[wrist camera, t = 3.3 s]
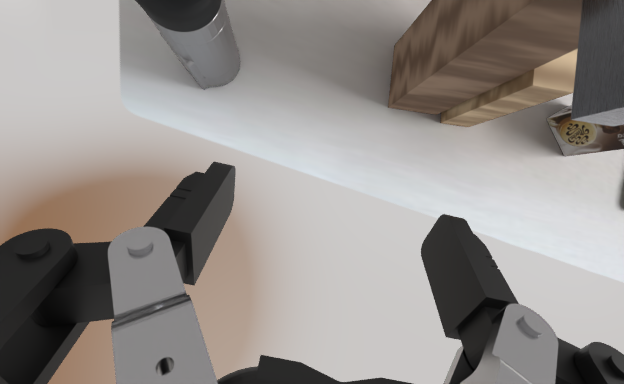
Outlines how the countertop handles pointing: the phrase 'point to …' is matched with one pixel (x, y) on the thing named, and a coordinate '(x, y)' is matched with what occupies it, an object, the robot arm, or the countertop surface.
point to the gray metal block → (600, 64)
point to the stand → (485, 58)
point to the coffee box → (584, 134)
